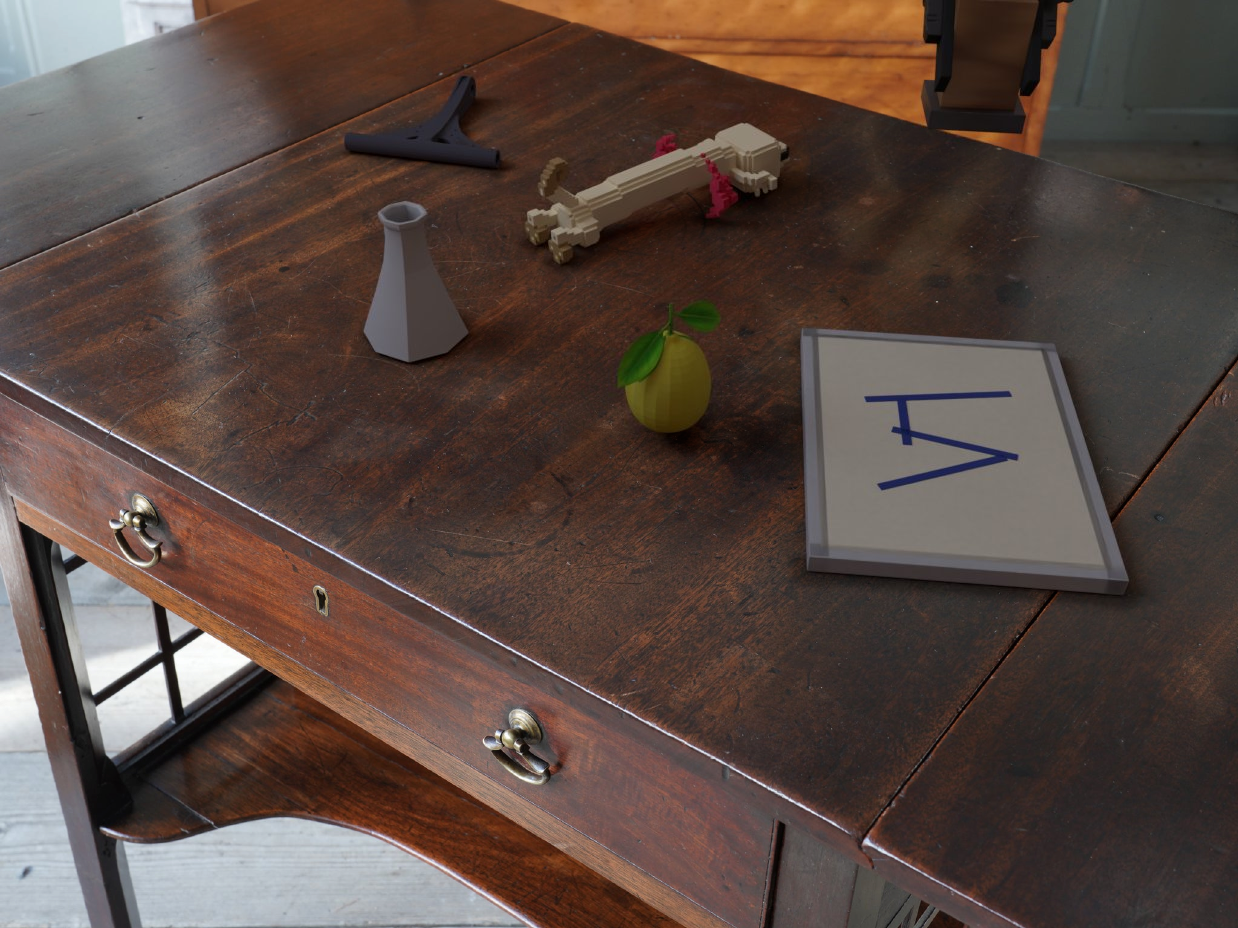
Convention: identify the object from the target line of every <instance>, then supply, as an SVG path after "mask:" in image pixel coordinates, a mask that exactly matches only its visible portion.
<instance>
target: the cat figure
mask: <svg viewBox="0 0 1238 928" xmlns="http://www.w3.org/2000/svg"><path fill="white" fill-rule="evenodd" d="M673 140H676V135H675V134H674V133H672V134H667V135H662V136H661V139H658V140H657V141H656V142H655V153H654V154H653V155H652V159H650V160H647V161H646V162H645V161H644V162H643V163H641V164H638V165H636V166H633V167H631V168H627V169H626V170H623V171H621V172H618V173H615V174H613V175H610V176H607V177H606V179H604V181H603V182H602V183H599V184H596V185H594V186H592V187H589V188H586V189H584V190H581V191H579V192H577V193H576V194H575V195H574V194H573V193H571V192H569V191H568V190H567V189H564V188H563V187H561V186H560V185H561V181H565V180H567V175H570V165H569V162H567V161H566V160H564V159H563V158H562V157H560V156H556V157H554V158H551V159H549V160H548V164H546V165H545V168H544V169H543V170H542V173H541V174H540V175H539V177H540V181H539V182H537V189H538V194H539V195H540V196H542V197H543V198H545V199H547V200H548V201H550V202H552V203H554V204H552V206H550V209H548V210H545V209H544V208H542V209H540V210H539V209H537V208H533V209H531V210H528V211H527V212H526V217H527V220H526V221H524V229H525V230H524V231H525V232H526V233H527V234H528V235H529V240H530V242H531V243H533V245H535V246H539V245H542V244H544V243H546V240H547V242H548V251H549V252H551V253H552V254H553V260H554V261H555V262H556V263H557V264H558V265H563V264H565V263H567V262H569V261H571V259H573V258H574V254H573V253H574V252H573V246H576V245H579V246H582V247H583V248H584V249H585V248H588V247H590V246H592V245H594V244H597V243H598V242H599V241H600V238H601V233H600V232H602V230H603V229H604V228H606V227H608V226H610V225H613V224H616V223H618V222H621V221H623V220H625V219H628V218H629V217H630V216H631V215H633V213H634V212H636V211H639V210H641V209H643V208H646V207H648V206H649V207H650V206H651V205H654V204H656V203H658V202H660V201H664V200H665V199H667V198H670V197H672V196H675V195H676V194H680V193H682V194H683V195H684V194H687V193H689V192H692V191H694V190H697V189H699V188H703V187H704V186H706V185H709V192H710V194H711V203H712V204H713V205H714V206H711V207H709V213H706V214H705V218H706V219H708V220H709V219H711V220H712V219H716V217H719V218H720V217H722V216H723V212H725V211H727V210H728V209H729V208H730V206H732V205H733V204H735V203H736V202H738V201H739V194H738V193H736V192H735V191H734V187H735V188H737V189H739V190H740V191H742V192H743V193H750V194H752V193H754V196H755V197H756V198H758V197H760V196H761V190H762V193H764V194H767V193H769V190H770V191H773V190H776V189H778V178H780V175H781V169H782V168H784V167H785V164H786V163H788V162H790V157H789V156H790V146H788V145H787V144H785V143H784V142H783V141H780V140H777V139H776V138H775V137H773V136H771V135H770V134H768V133H766V132H764V131H763V130H760V129H759V128H757V127H755V126H754V125H752V124H751V123H748V122H746V123H743V122H740V123H738V124H735V125H732V126H731V127H728V128H725V129H723V130H720V131H718V132H717V133H716V134H715V136H714V139H712V138H709V137H708V138H706V139H704V140H703V141H701V142H699V143H696V145H694V146H691V147H688V148H686V149H683V148H679V147H677V143H676V142H672V141H673ZM671 142H672V143H671ZM732 186H734V187H732ZM553 226H555V227H556V228H553V229H552V230H550V235H551V239H550V238H549V229H548V228H550V227H553Z"/></svg>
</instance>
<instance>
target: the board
mask: <svg viewBox="0 0 1238 928" xmlns="http://www.w3.org/2000/svg"><path fill="white" fill-rule="evenodd" d="M799 343H800V346H799V347H800V376H801V378H800V379H801V380H800V381H801V410H802V411H801V413H802V414H801V416H802V445H803V446H802V447H803V448H802V449H803V481H804V482H803V484H804V517H805V548H806V551H805V552H806V553H805V554H806V571H807V572H818V573H830V574H831V573H833V574H845V575H856V576H857V575H858V576H872V577H873V576H874V577H881V578H882V577H883V578H895V579H896V578H897V579H910V580H921V581H922V580H923V581H936V582H947V583H948V582H949V583H961V584H973V585H974V584H975V585H988V586H989V585H990V586H1001V587H1002V586H1003V587H1013V588H1015V587H1016V588H1025V589H1026V588H1027V589H1039V590H1040V589H1041V590H1053V591H1068V592H1079V593H1080V592H1081V593H1091V594H1103V595H1114V596H1115V595H1116V596H1124V594H1125V592H1126V589H1127V587H1128V585H1129V581H1130V579H1129V576H1128V573H1127V570H1126V566H1125V564H1124V560H1123V558H1122V554H1121V551H1120V548H1119V544H1118V542H1117V537H1116V535H1115V532H1114V528H1113V525H1112V523H1111V518H1110V516H1109V513H1108V510H1107V506H1106V502H1105V500H1104V496H1103V494H1102V491H1101V488H1100V484H1099V481H1098V478H1097V474H1096V472H1095V468H1094V464H1093V461H1092V459H1091V456H1090V453H1089V449H1088V446H1087V443H1086V440H1085V436H1084V434H1083V430H1082V427H1081V424H1080V421H1079V418H1078V414H1077V411H1076V408H1075V405H1074V402H1073V398H1072V395H1071V392H1070V389H1069V386H1068V382H1067V379H1066V376H1065V373H1064V369H1063V367H1062V363H1061V361H1060V357H1059V354H1058V350H1057V348H1056V344H1055V343H1051V342H1035V341H1017V340H1002V339H988V338H987V339H986V338H973V337H972V338H970V337H955V336H954V337H953V336H941V335H926V334H925V335H923V334H909V333H895V332H894V333H892V332H878V331H877V332H876V331H862V330H861V331H860V330H847V329H846V330H845V329H830V328H829V329H828V328H814V327H813V328H812V327H802V328H801V333H800V341H799Z"/></svg>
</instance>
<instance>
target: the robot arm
mask: <svg viewBox="0 0 1238 928" xmlns="http://www.w3.org/2000/svg"><path fill="white" fill-rule="evenodd" d="M1074 1H1075V0H1038V2H1039V5H1038V9H1037V14H1036V18H1035V22H1034V27H1033V31H1032V35H1031V40H1030V44H1029V49H1028V53H1027V57H1026V62H1025V66H1024V71H1023V75H1022V80H1021V84H1020V89H1019V94H1018V95H1019V97H1031V96H1032V94H1033V93H1034V91H1035V90H1036V88H1037V87H1038V85H1039V84H1040V82H1041V70H1042V69H1041V67H1042V50H1049V48H1050V47H1051V45H1052V44H1053V42H1054V40H1055V38H1056V36H1057V28H1058V27H1057V26H1058V7H1059V4H1062V3H1064V4H1071V3H1073V2H1074ZM921 4H922V7H923V25H922V39H923V42H924V44H929V45H932V44H933V45H936V47H935V48H936V49H935V66H934V68H935V69H934V80H935V82H934V92H945V90H946V88H947V86H948V84H949V82H950V80H951V78H952V63H953V45H954V23H955V5H956V0H922V3H921Z"/></svg>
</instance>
